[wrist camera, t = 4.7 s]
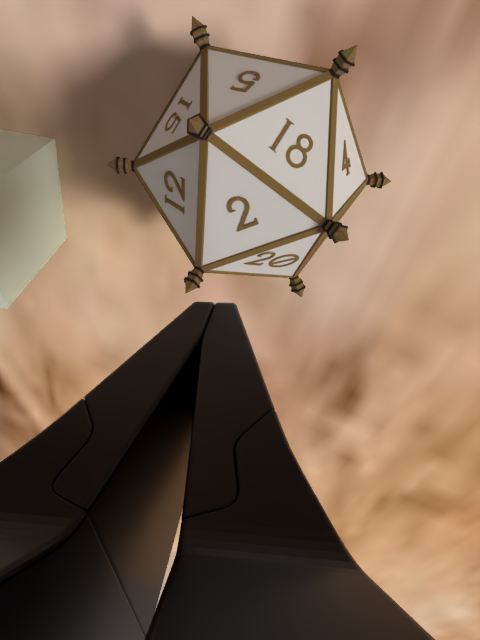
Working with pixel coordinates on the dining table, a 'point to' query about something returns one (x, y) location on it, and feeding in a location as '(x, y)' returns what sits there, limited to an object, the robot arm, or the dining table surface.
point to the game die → (253, 162)
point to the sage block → (27, 209)
